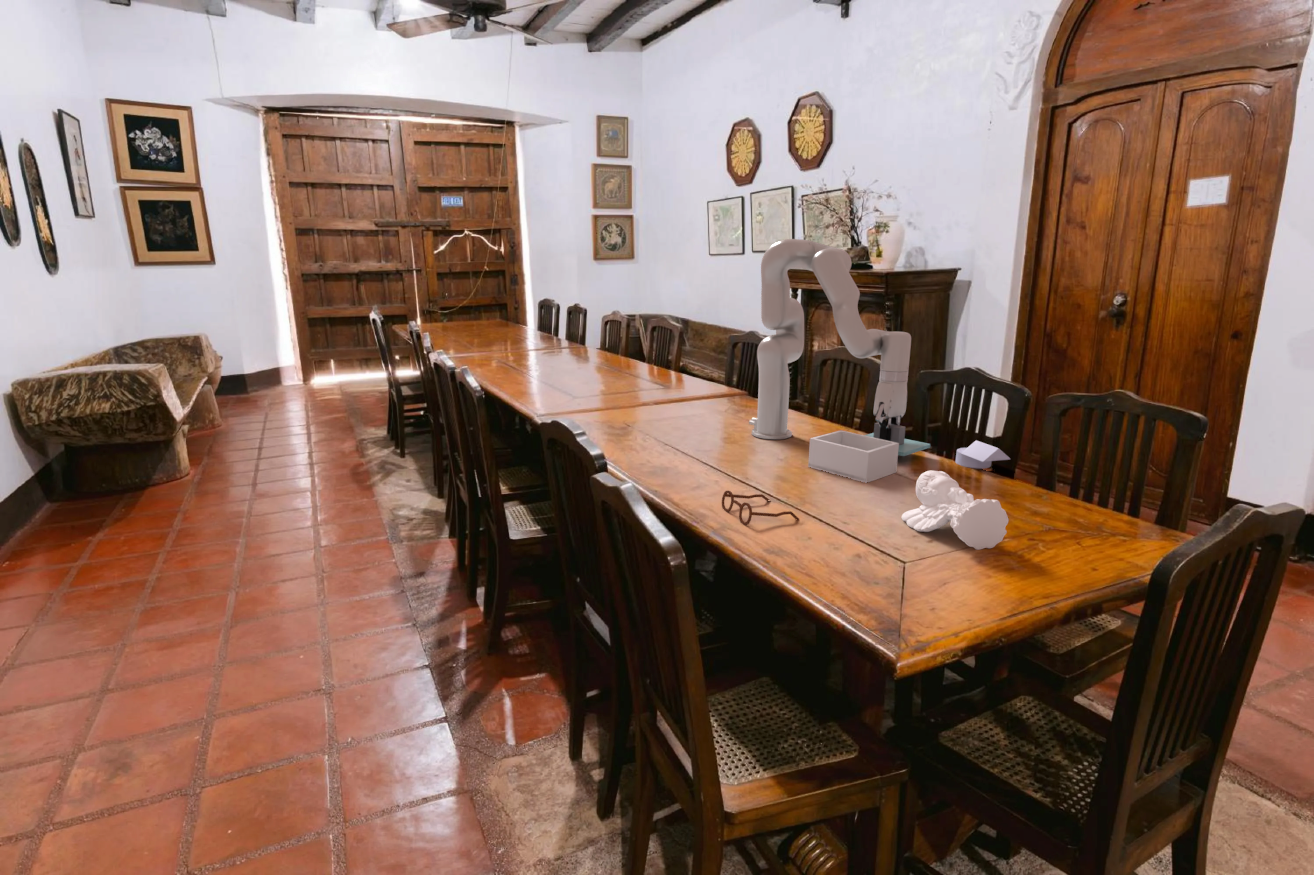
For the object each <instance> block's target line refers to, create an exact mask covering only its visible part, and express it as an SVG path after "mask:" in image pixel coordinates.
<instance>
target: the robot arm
mask: <svg viewBox="0 0 1314 875" xmlns="http://www.w3.org/2000/svg"><path fill="white" fill-rule="evenodd" d="M851 268H852V259H851V256H850V254H849V253H848V252H847V251H846V250H844V249H842V248H838V247H834V246H830V245H827V244H823V243H820V242H816V241H813V240H809V239H797V238H786V239H782V240H779V241H776V242H774V243H773V244H771V245H770V246H769V247H768V248H767V249H766V251H765V252H764V254H763V256H762V259H761V264H760V276H761V277H760V278H761V279H760V280H761V289H760V290H761V292H760V293H761V297H760V301H761V302H760V303H761V304H760V305H761V306H760V307H761V308H760V309H761V310H760V311H761V312H760V313H761V314H760V315H761V323H762V324H763V326H764V327H765V328H766V329H768V330H770V331H775V334H771V335H768V336H765V338H763V339H762V340H761V341H760V343H759V344H758V346H757V350H756V358H757V365H758V390H757V392H758V394H757V397H758V398H757V411H756V412H757V416H756V417H752V418H750V419H749V421H748V424H749V425H752V426H754V427H753V429H752V430H751V435H752V436H754V437H756V438H758V439H759V438H760V439H764V440H784V439H789V438H791V437H792V435H793V432H792V431H791V430H790V429H788V421H789V419H788V418H789V402H790V401H789V400H790V399H789V398H790V381H791V380H790V371H789V365H788V364H791V363H793V362H795V361H797V360H799V359H800V357H801V356H802V354H803V352H804V347H805V346H804V344H805V312H804V308H803V306H802V304H801V303H800V302H799V301H798V300H797V299H796V298H793V297H791V295H790V294H791V293H790V292H791V282H790V278H789V275H788V271H789V270H791V269H796V270H798V269H802V270H807V271H810V272H813V274H814V276H815V277H816V279H817V281H818V283H819V285H820V287H821V288H822V290H823V292H824V294H825V295H826V297H827V300H828V301H829V303H830V306H831V307H832V315H833V319H834V320H833V321H834V324H835V328H836V332H837V333H838V336H839V337H840V339H841V341H842V343H843V344H844V346H845V348H846V350H847V351H848V353H850V355H852V356H853V357H855V358H857V359H866V358H871V357H873V356H878V355H879V356H880V366H879V368H880V369H879V370H880V371H879V379H878V380H879V381H878V383H877V386H876V390H875V395H874V403H873V416H875V421H876V423H878V422H879V427H880V437H879V439H883V440H887V441H890V439H891V428H890V424H894V425H900V424H901V420H902V418H903V417H904V415H905V414H906V410H907V404H908V403H907V402H908V380H909V377H908V376H909V368H910V367H909V366H910V357H911V346H912V336H911V334H910V333H909V332H905V331H898V330H897V331H887V330H882V329H878V328H870V329H867V328H866V326H865V324H864V322H863V321H862V318H861V316H860V313H859V309H858V308H859V307H858V306H859V305H858V304H859V300H860V294H861V293H860V292H861V291H860V290H859V288H858V286H857V284H856V282H855V281H854V278H853V277H852V276H851V274H850V270H851ZM900 426H901V425H900Z"/></svg>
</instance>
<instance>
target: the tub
mask: <svg viewBox="0 0 1314 875" xmlns="http://www.w3.org/2000/svg"><path fill="white" fill-rule="evenodd" d="M865 435H866V434H860V433H855V432H850V431H847V430H836V431H833V432H830V433H825V434H822V435H821V434H820V435H818V436H814V437H810V438H809V448H808V449H809V450H808V464H807V467H808V468H810V467H811V469H813V470H818V471H821V470H823V471H822V472H825V471H826V473H828V472H829V473H828V474H833V475H835V474H837V475H836V476H839V475H840V476H839V477H842V476H843V477H842V478H846V477H848V478H847V479H850V478H851V479H850V480H854V481H856V482H860V481H861V483H864V482H865V483H864V484H867V482H868V483H870V482H872V481H876V480H879V479H881V478H882V479H883V478H884V477H888V476H890V475H892V474H896V473H897V471H898V470H897V467H898V460H899V459H898V457H899V455H898V449H899V443H896V442H892V441H887V440H883V439H878V438H874V437H869V436H865Z"/></svg>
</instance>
